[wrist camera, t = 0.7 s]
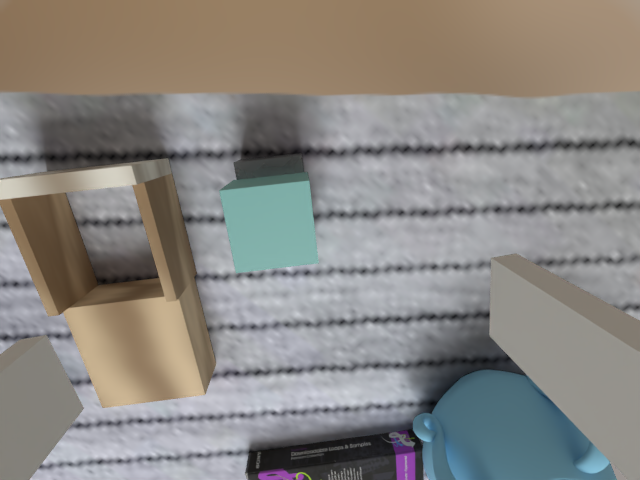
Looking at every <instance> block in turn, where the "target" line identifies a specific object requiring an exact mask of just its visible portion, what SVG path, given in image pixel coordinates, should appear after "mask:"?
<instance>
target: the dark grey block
mask: <svg viewBox="0 0 640 480" xmlns="http://www.w3.org/2000/svg"><path fill="white" fill-rule="evenodd" d="M234 167H235V173H236V178H237V180H240V179H249V178H258V177H267V176H276V175H285V174H294V173H303V172H304V168H303V159H302V153H295V154H286V155H277V156H267V157H258V158H249V159H241V160H238V161H236V162H234Z"/></svg>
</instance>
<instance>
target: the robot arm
mask: <svg viewBox="0 0 640 480" xmlns="http://www.w3.org/2000/svg"><path fill="white" fill-rule="evenodd" d="M489 336H490V337H491V338H492V339H493V340H494V341H495V342H496V343H497V344H498V345H499V346H500V347H501V348H502V350H503V351H504V352H505V353H506V354H507V355H508V356H509V357H510V358H511V359H512V360H513V361H514V362H515V363H516V364H517V365H518V366H519V367H520V368H521V369H522V370H523V371H524V372H525V373H526V375H527V376H528V377H529V378H530V379H531V380H532V381H533V382H534V383H535V384H536V385H537V386H538V387H539V388H540V389H541V390H542V391H543V392H544V393H545V394H546V395H547V396H548V397H549V399H550V400H551V401H552V402H553V403H554V404H555V405H556V406H557V407H558V408H559V409H560V410H561V411H562V412H563V413H564V414H565V415H566V416H567V417H568V418H569V419H570V420H571V421H572V422H573V424H574V425H575V426H576V427H577V428H578V429H579V430H580V431H581V432H582V433H583V434H584V435H585V436H586V437H587V438H588V439H589V440H590V441H591V442H592V443H593V444H594V445H595V446H596V447H597V449H598V450H599V451H600V452H601V453H602V454H603V455H604V456H605V457H606V458H607V459H608V460H609V461H610V462H611V463H612V464H613V465H614V466H615V467H616V468H617V469H618V470H619V471H620V472H621V474H622V475H623V476H624V477H625V478H626V479H627V480H640V321H639V320H637V319H636V318H634V317H632V316H630V315H628V314H626V313H625V312H623V311H621V310H619V309H617V308H615V307H613V306H612V305H610V304H608V303H606V302H604V301H602V300H601V299H599V298H597V297H595V296H593V295H591V294H590V293H588V292H586V291H584V290H582V289H580V288H579V287H577V286H575V285H573V284H571V283H569V282H568V281H566V280H564V279H562V278H560V277H558V276H556V275H555V274H553V273H551V272H549V271H547V270H545V269H544V268H542V267H540V266H538V265H536V264H534V263H533V262H531V261H529V260H527V259H525V258H523V257H522V256H520V255H518V254H511V255H506V256H500V257H494V258H491V288H490V332H489ZM83 409H84V408H83V406H82V404H81V402H80V400H79V398H78V396H77V394H76V392H75V390H74V388H73V386H72V384H71V382H70V380H69V378H68V376H67V374H66V372H65V370H64V368H63V366H62V364H61V362H60V360H59V359H58V357H57V355H56V353H55V351H54V349H53V347H52V345H51V343H50V341H49V339H48V337H47V335H45V336H39V337H33V338H27V339H22V340H19V341H18V342H16V343H15V344H14V345H12V346H11V347H10V348H8V349H7V350H6V351H4V352H3V353H2V354H0V480H30V478H31V477H32V476H33V474H34V473H35V472H36V470H37V469H38V468H39V466H40V465H41V464H42V463H43V461H44V460H45V459H46V457H47V456H48V455H49V453H50V452H51V451H52V450H53V448H54V447H55V446H56V444H57V443H58V442H59V440H60V439H61V438H62V436H63V435H64V434H65V433H66V431H67V430H68V429H69V427H70V426H71V425H72V423H73V422H74V421H75V419H76V418H77V417H78V416H79V414H80V413H81V412H82V410H83Z"/></svg>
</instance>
